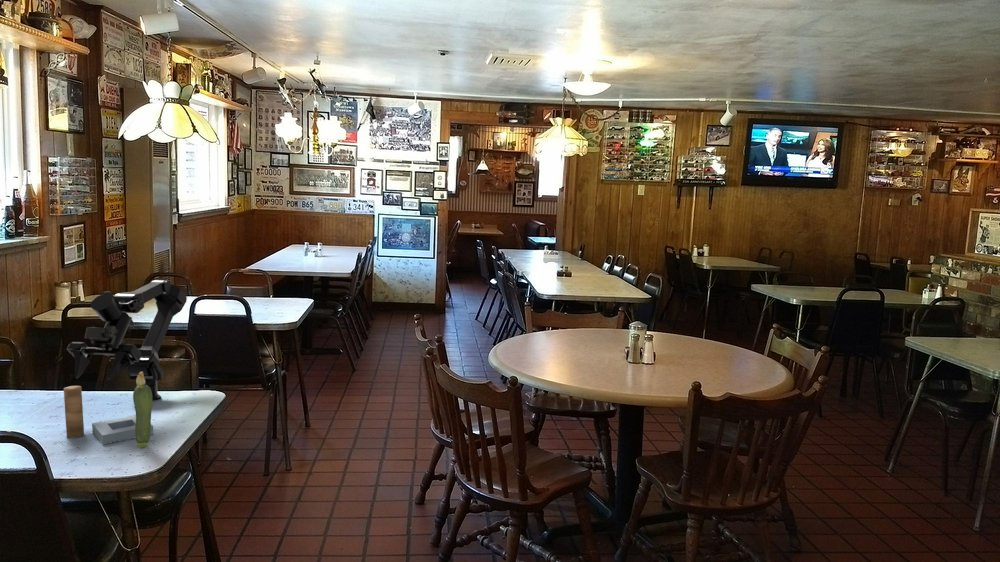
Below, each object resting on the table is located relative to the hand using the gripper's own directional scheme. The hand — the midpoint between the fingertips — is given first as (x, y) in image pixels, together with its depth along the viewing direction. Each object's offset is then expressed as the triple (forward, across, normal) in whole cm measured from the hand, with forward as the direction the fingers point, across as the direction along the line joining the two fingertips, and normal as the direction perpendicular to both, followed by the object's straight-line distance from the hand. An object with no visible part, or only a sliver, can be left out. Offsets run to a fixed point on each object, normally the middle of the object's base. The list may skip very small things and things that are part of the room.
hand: (92, 378), depth 194 cm
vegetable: (+19, +22, 0) cm, 30 cm away
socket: (+13, +11, +6) cm, 18 cm away
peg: (+15, 0, +4) cm, 16 cm away
